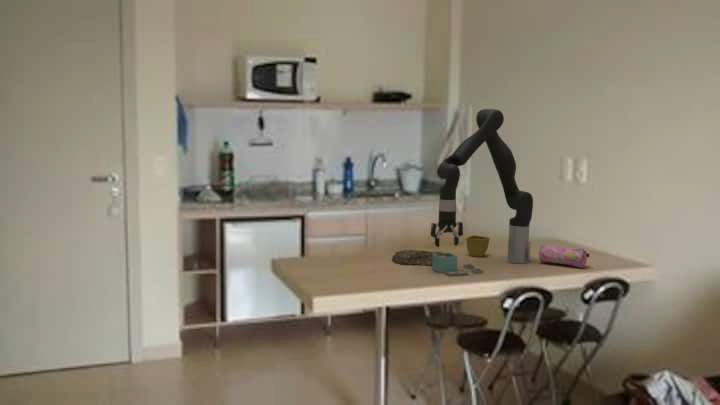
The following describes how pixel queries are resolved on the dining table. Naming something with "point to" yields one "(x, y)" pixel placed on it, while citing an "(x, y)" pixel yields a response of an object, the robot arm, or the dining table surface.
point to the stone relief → (414, 257)
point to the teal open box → (444, 262)
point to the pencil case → (563, 256)
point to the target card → (456, 273)
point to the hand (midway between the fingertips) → (446, 246)
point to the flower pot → (477, 245)
